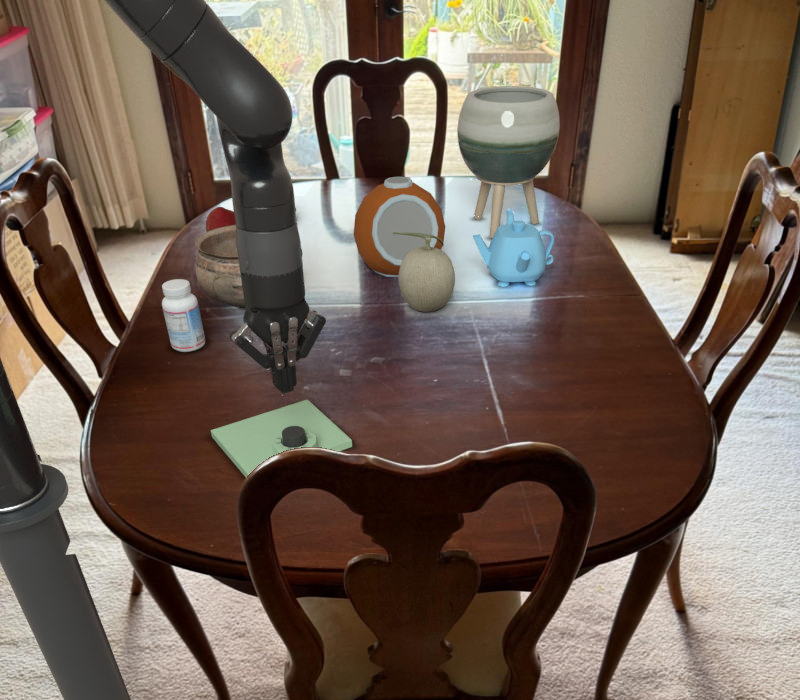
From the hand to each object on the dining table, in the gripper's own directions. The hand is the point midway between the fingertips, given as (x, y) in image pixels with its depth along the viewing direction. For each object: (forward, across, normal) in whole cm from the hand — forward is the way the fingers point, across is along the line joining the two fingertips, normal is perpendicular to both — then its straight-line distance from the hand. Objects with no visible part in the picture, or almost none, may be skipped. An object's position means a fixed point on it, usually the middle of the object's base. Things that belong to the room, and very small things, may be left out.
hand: (285, 389), depth 104 cm
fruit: (+11, -44, -32) cm, 55 cm away
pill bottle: (+11, 0, -42) cm, 44 cm away
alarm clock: (+11, -51, -52) cm, 74 cm away
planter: (+10, -84, -60) cm, 104 cm away
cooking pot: (+11, -17, -54) cm, 57 cm away
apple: (+11, -26, -88) cm, 92 cm away
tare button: (+8, 0, 0) cm, 8 cm away
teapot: (+10, -66, -34) cm, 75 cm away
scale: (+11, 0, -4) cm, 12 cm away
